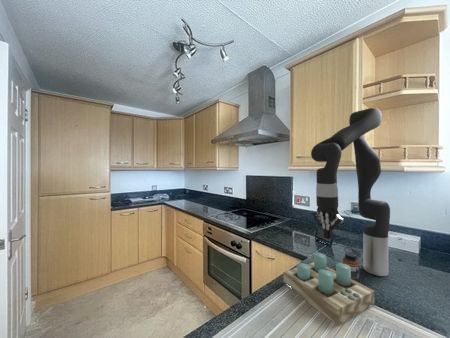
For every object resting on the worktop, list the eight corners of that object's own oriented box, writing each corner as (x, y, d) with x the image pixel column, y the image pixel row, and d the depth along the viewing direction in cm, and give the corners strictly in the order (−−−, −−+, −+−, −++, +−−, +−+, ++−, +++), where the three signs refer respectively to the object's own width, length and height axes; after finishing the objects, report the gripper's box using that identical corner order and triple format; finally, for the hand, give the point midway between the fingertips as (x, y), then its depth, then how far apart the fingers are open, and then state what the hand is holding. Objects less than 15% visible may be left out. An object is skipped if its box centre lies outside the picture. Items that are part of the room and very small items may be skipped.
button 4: (341, 276, 77) (341, 262, 77) (353, 283, 72) (353, 267, 72) (333, 280, 75) (333, 264, 75) (345, 287, 70) (345, 270, 70)
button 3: (324, 283, 72) (324, 268, 72) (336, 291, 68) (336, 274, 68) (315, 287, 70) (315, 271, 70) (327, 295, 66) (327, 278, 66)
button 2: (319, 265, 86) (319, 252, 86) (329, 270, 81) (329, 256, 81) (311, 268, 84) (311, 254, 84) (321, 273, 79) (321, 259, 79)
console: (316, 271, 90) (316, 260, 90) (374, 304, 68) (374, 289, 68) (283, 283, 81) (283, 271, 81) (338, 325, 60) (338, 308, 60)
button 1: (303, 276, 81) (302, 262, 81) (312, 282, 77) (312, 267, 77) (294, 279, 79) (294, 264, 79) (303, 285, 75) (303, 270, 75)
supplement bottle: (344, 274, 88) (343, 249, 88) (359, 279, 84) (359, 253, 84) (341, 280, 83) (341, 254, 83) (358, 285, 79) (358, 258, 79)
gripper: (350, 196, 71) (351, 242, 71) (319, 191, 83) (320, 231, 83) (336, 198, 67) (337, 247, 68) (306, 193, 80) (307, 235, 80)
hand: (328, 238), depth 75 cm, fingers closed
